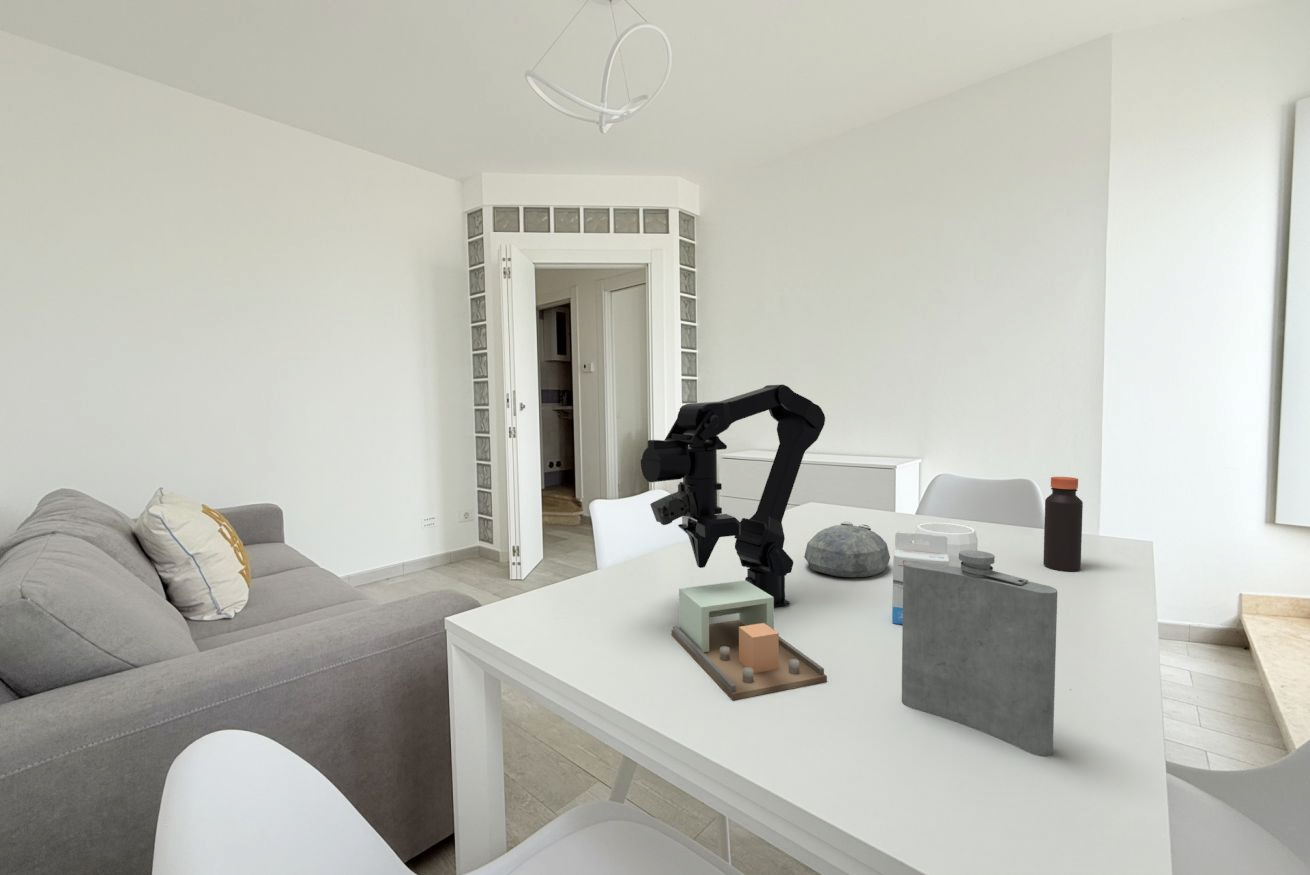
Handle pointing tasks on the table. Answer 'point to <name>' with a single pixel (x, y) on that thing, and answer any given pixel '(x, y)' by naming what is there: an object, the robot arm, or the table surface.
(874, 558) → the decorative stone
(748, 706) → the table surface
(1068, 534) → the bottle
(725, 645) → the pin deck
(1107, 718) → the table surface
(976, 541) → the cup
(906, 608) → the hip flask
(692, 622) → the housing
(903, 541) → the ink box
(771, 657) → the block
